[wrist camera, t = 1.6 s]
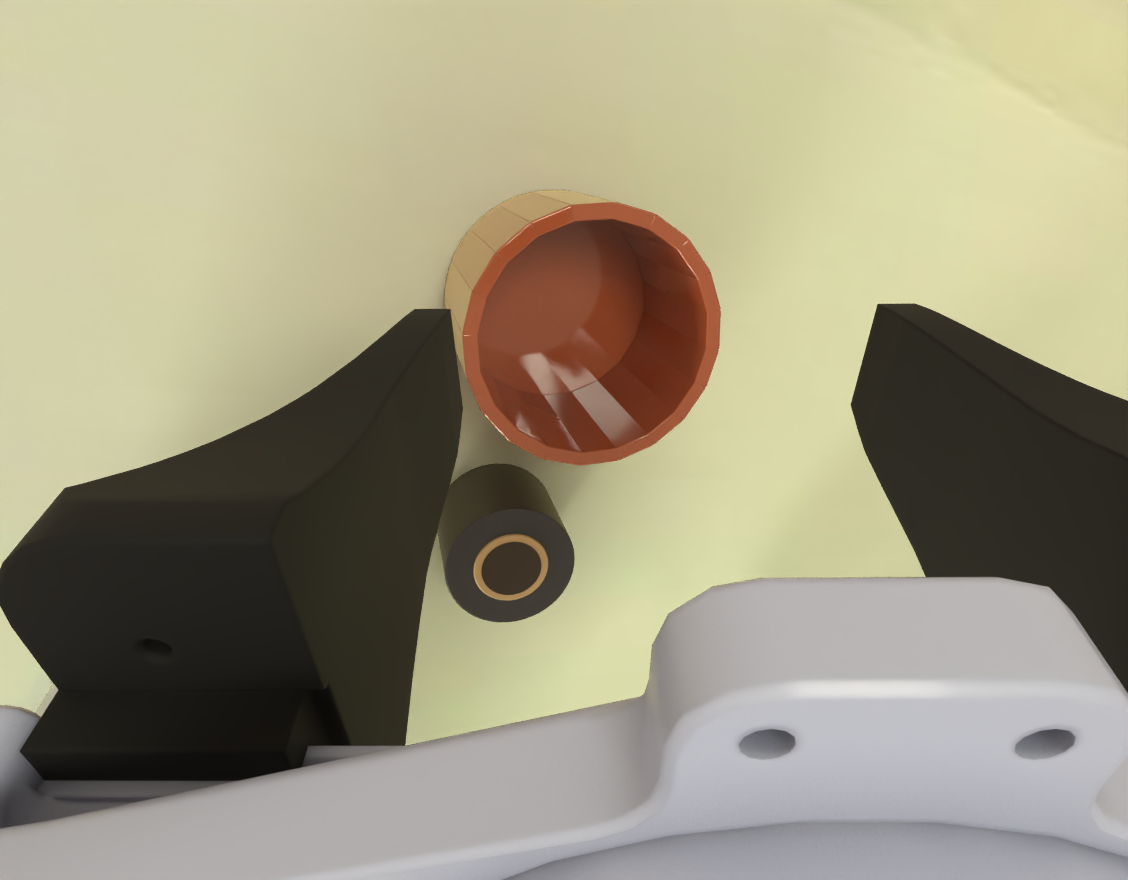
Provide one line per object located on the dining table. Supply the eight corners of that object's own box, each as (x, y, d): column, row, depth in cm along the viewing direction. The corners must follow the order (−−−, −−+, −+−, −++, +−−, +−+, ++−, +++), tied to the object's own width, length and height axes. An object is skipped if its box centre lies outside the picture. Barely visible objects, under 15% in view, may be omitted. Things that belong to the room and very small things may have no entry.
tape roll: (553, 557, 35) (577, 612, 31) (442, 575, 34) (452, 634, 29) (548, 456, 33) (573, 501, 29) (430, 471, 32) (438, 520, 27)
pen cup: (649, 389, 33) (715, 448, 26) (454, 411, 31) (475, 480, 25) (650, 183, 29) (726, 195, 23) (433, 196, 28) (450, 212, 21)
